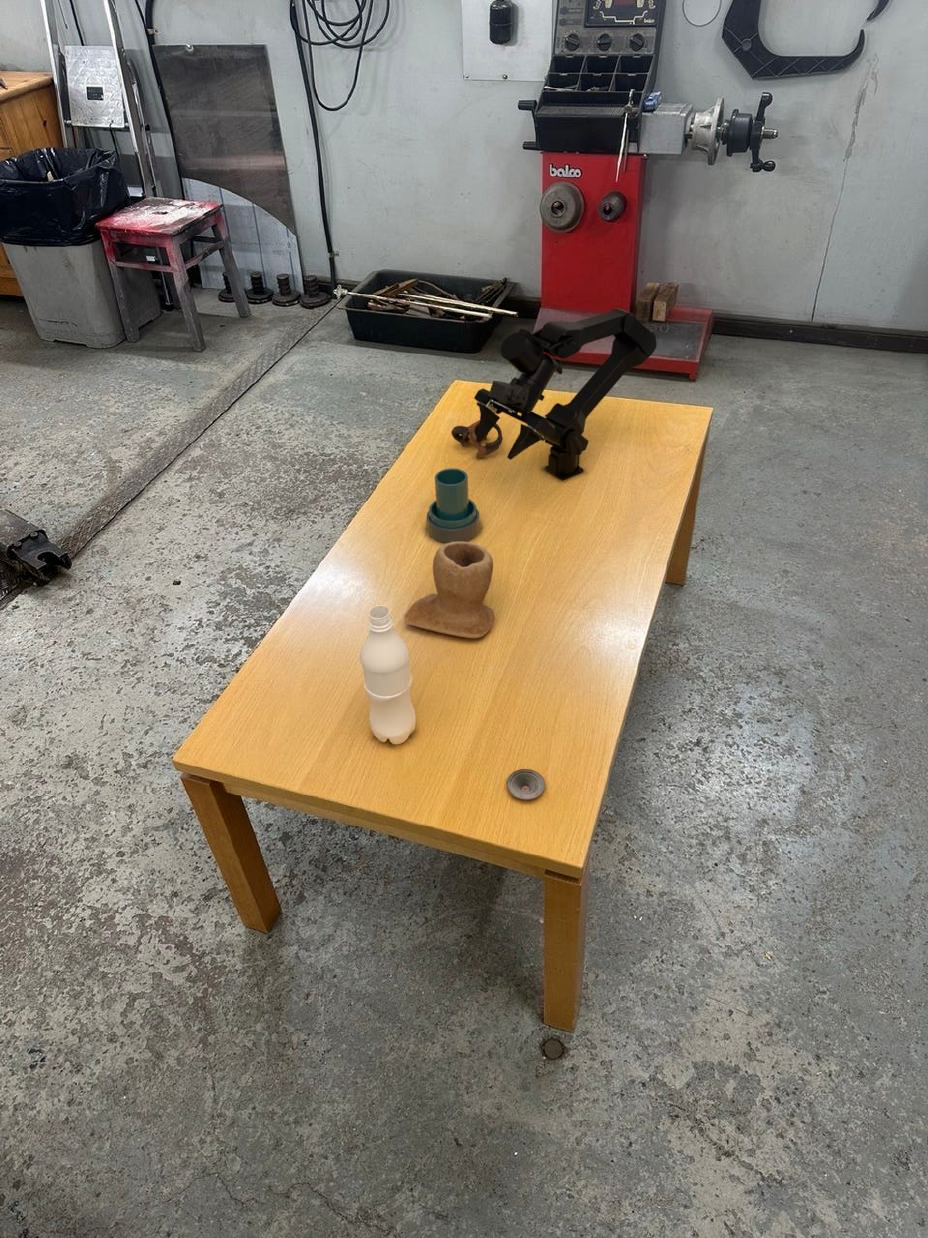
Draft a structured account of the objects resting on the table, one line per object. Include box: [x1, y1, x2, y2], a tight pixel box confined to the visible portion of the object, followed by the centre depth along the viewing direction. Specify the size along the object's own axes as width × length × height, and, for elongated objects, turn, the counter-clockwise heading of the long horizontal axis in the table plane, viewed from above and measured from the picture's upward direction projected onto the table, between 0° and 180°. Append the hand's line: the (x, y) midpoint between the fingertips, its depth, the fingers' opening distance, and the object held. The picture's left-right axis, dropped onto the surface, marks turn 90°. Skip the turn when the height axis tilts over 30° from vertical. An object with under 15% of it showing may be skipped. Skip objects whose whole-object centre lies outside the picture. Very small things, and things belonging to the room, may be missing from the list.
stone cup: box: [403, 541, 496, 639], centre depth 150 cm, size 15×12×15 cm
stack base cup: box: [426, 507, 481, 544], centre depth 175 cm, size 11×11×3 cm
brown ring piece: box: [450, 419, 504, 459], centre depth 199 cm, size 12×10×8 cm
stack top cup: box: [428, 498, 477, 529], centre depth 175 cm, size 10×10×5 cm
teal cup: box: [434, 467, 469, 521], centre depth 172 cm, size 6×6×10 cm
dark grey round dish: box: [506, 768, 546, 801], centre depth 125 cm, size 6×6×1 cm
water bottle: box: [359, 604, 417, 745], centre depth 126 cm, size 7×7×25 cm
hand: (493, 450), depth 174 cm, fingers open, 9 cm apart
